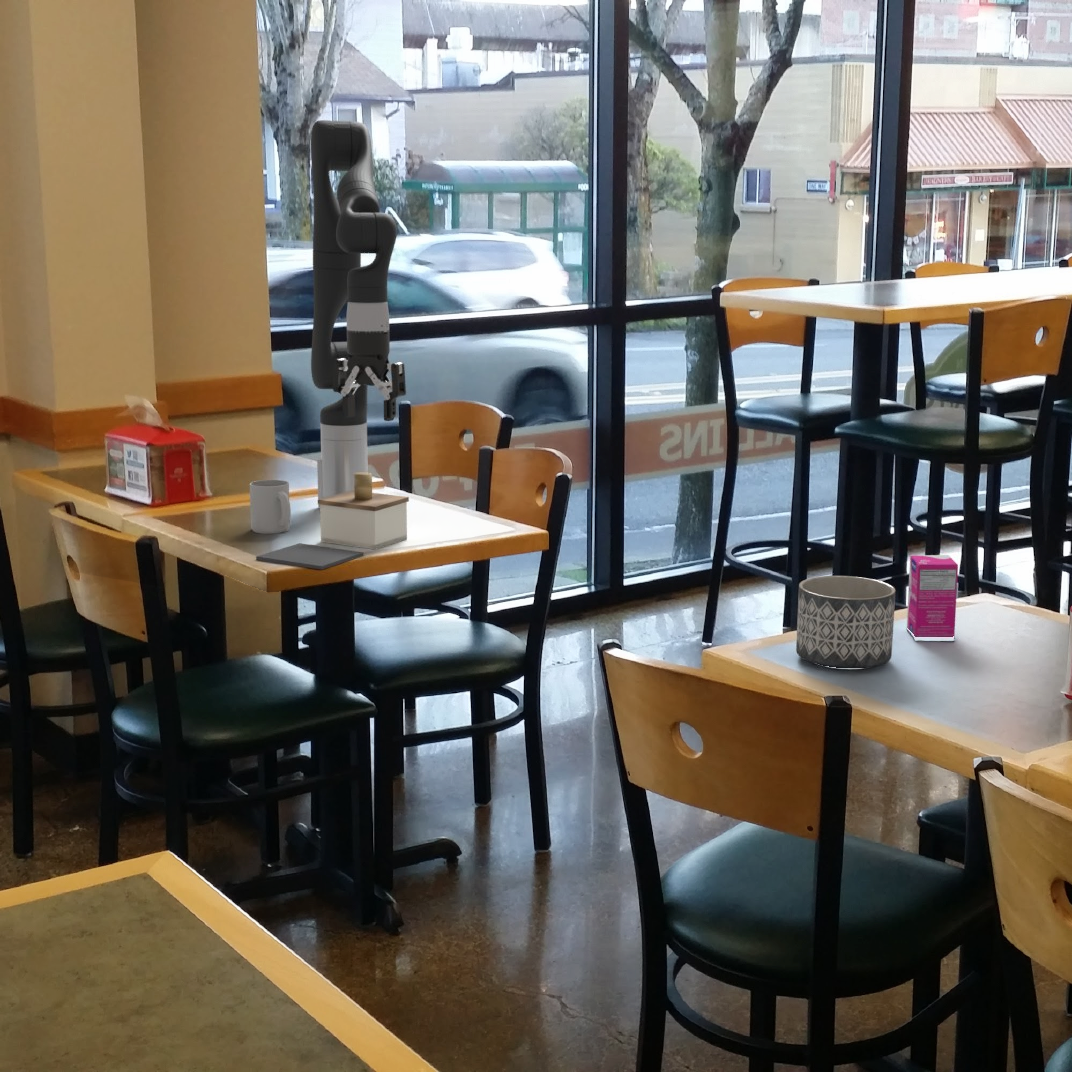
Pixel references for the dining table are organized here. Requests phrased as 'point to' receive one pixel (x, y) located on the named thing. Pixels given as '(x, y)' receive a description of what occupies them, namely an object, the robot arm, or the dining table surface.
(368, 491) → the lid
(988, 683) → the dining table surface
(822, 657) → the planter
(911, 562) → the supplement box
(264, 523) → the cup
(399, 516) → the tea box
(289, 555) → the mat
